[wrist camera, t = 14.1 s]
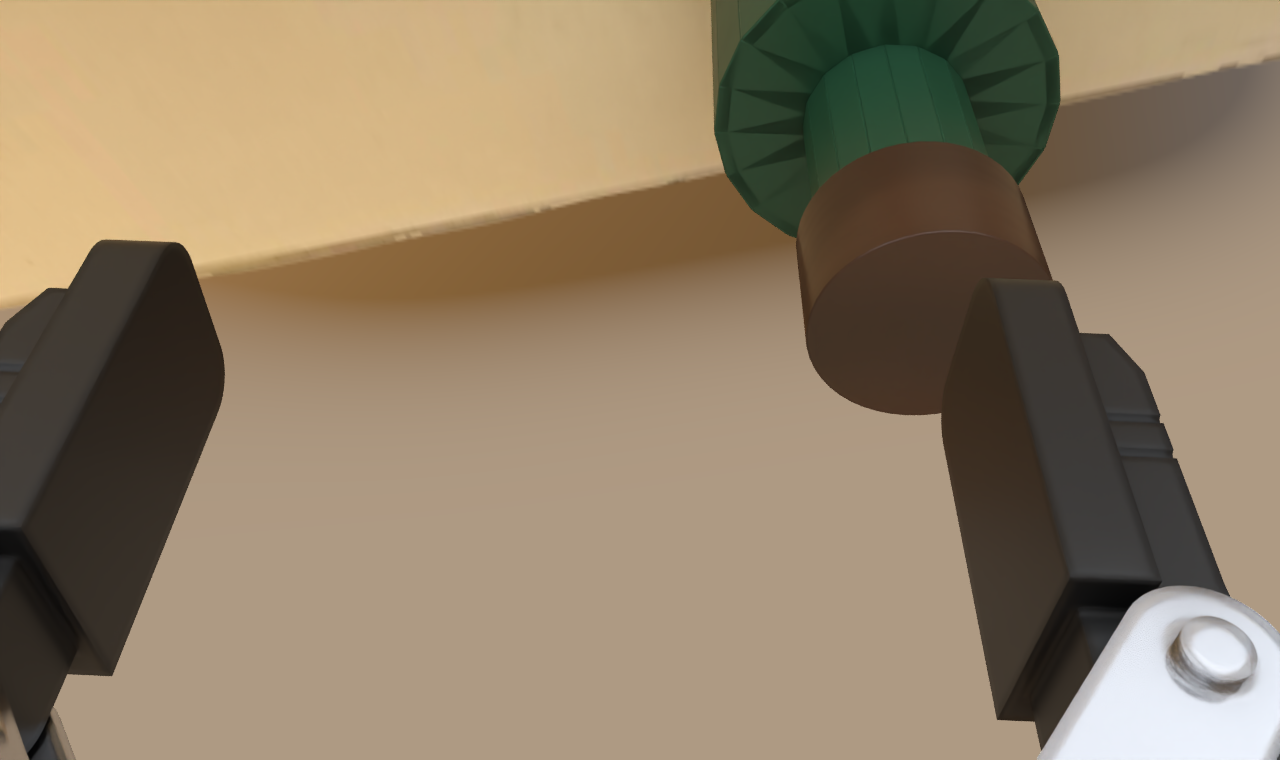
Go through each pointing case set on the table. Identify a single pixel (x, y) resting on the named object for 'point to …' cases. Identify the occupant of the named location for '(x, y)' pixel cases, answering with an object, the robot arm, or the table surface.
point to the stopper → (906, 267)
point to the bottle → (873, 88)
